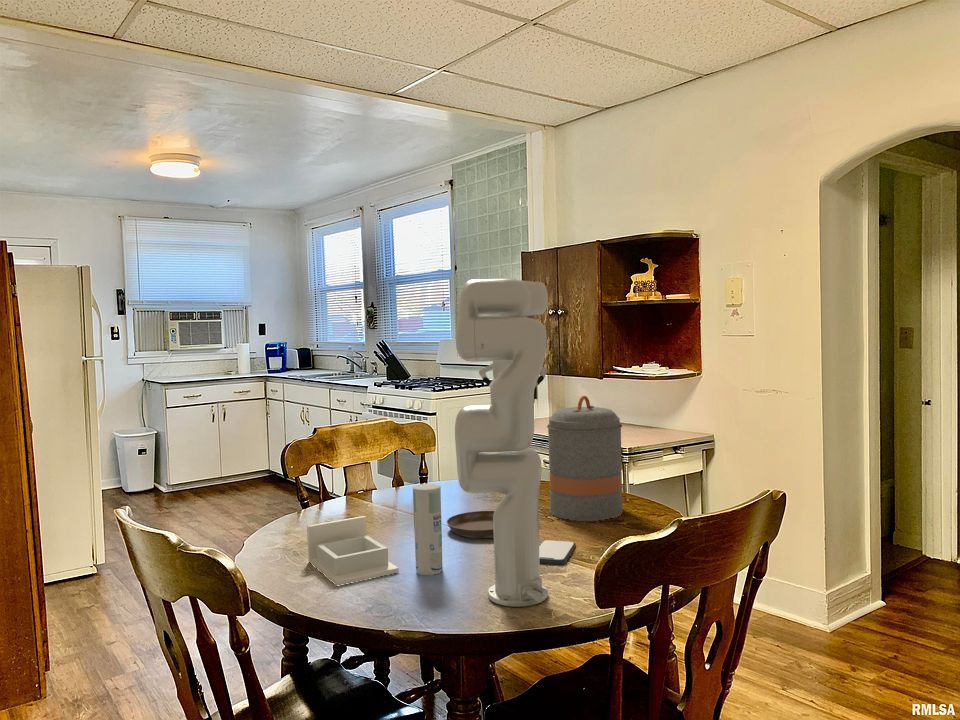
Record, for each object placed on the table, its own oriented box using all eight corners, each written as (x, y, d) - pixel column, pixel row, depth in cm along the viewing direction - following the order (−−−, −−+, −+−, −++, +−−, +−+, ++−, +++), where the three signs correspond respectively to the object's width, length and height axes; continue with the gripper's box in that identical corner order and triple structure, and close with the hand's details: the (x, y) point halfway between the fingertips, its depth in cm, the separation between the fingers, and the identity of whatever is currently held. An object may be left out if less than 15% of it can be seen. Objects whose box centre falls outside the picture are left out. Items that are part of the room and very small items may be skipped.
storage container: (607, 525, 204) (604, 401, 202) (536, 515, 216) (533, 398, 214) (634, 506, 223) (632, 393, 221) (567, 499, 235) (565, 391, 233)
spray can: (436, 576, 167) (434, 490, 166) (410, 574, 169) (408, 489, 168) (447, 567, 173) (444, 484, 172) (422, 565, 175) (419, 482, 174)
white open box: (398, 572, 170) (397, 534, 169) (337, 586, 162) (335, 546, 162) (365, 551, 187) (364, 515, 187) (308, 562, 179) (306, 525, 179)
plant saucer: (437, 526, 209) (437, 514, 209) (503, 517, 217) (503, 506, 216) (461, 546, 190) (460, 533, 190) (533, 535, 197) (532, 523, 197)
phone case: (543, 545, 190) (528, 564, 175) (543, 539, 190) (528, 557, 175) (576, 547, 187) (564, 567, 172) (576, 541, 187) (564, 560, 172)
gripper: (477, 336, 180) (479, 405, 181) (547, 334, 179) (548, 403, 180) (478, 335, 187) (480, 401, 188) (546, 333, 187) (547, 400, 187)
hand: (514, 402), depth 184 cm, fingers open, 9 cm apart
